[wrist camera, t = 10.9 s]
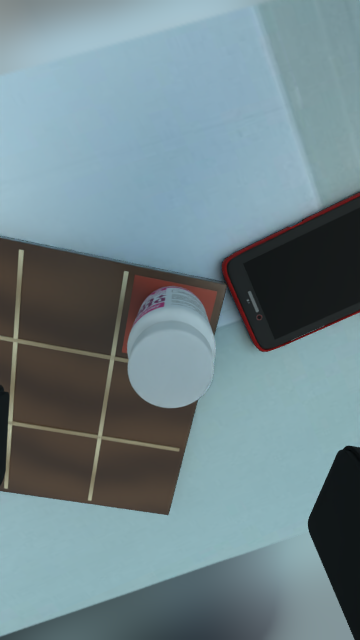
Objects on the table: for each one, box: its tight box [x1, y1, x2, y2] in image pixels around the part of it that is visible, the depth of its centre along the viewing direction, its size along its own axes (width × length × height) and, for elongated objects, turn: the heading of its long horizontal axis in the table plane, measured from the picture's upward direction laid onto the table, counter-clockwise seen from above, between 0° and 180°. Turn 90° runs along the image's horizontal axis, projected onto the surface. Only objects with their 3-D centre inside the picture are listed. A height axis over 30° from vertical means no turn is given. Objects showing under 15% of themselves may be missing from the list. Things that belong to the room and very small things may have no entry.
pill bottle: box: [127, 286, 216, 408], centre depth 18 cm, size 5×5×8 cm
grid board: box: [0, 236, 227, 515], centre depth 24 cm, size 21×21×1 cm
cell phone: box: [222, 192, 360, 352], centre depth 22 cm, size 8×15×1 cm, turn 116°
